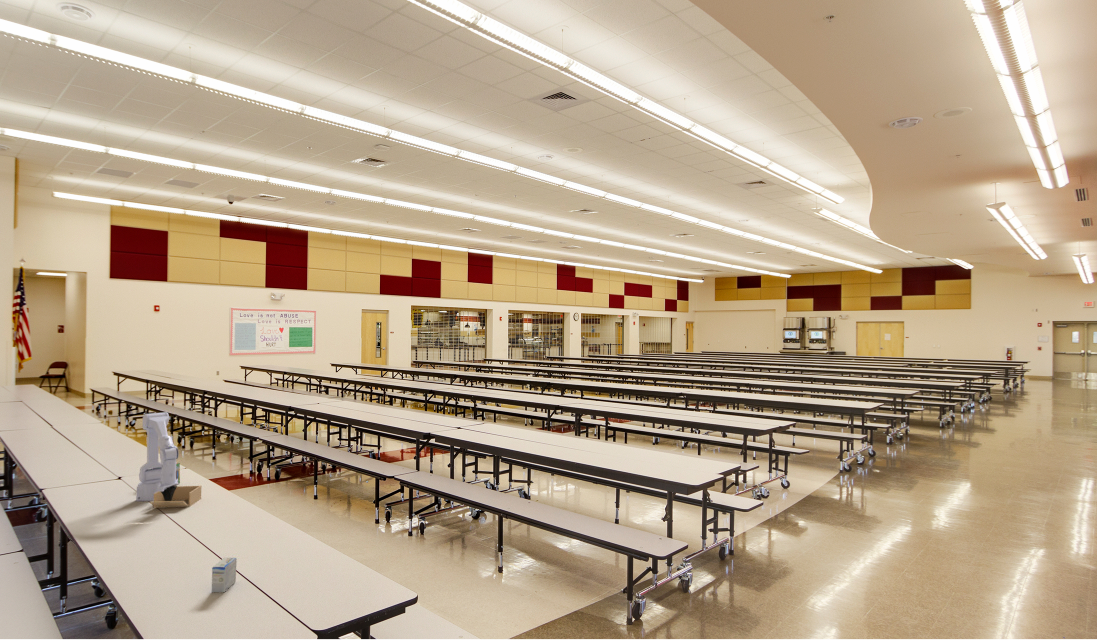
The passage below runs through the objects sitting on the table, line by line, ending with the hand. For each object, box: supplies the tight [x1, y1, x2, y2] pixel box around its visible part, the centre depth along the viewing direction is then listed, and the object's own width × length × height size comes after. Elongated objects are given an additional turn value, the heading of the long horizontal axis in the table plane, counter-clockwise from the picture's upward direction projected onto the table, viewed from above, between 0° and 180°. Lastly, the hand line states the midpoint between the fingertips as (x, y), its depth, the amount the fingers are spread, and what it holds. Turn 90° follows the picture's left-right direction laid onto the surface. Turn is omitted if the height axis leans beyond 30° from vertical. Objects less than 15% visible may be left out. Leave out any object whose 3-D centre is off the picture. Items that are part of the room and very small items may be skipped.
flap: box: [149, 500, 188, 509], centre depth 265 cm, size 14×1×6 cm
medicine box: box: [211, 557, 237, 593], centre depth 190 cm, size 8×4×9 cm, turn 5°
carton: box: [152, 485, 202, 509], centre depth 273 cm, size 16×12×7 cm
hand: (168, 502), depth 264 cm, fingers closed, pressing on flap
